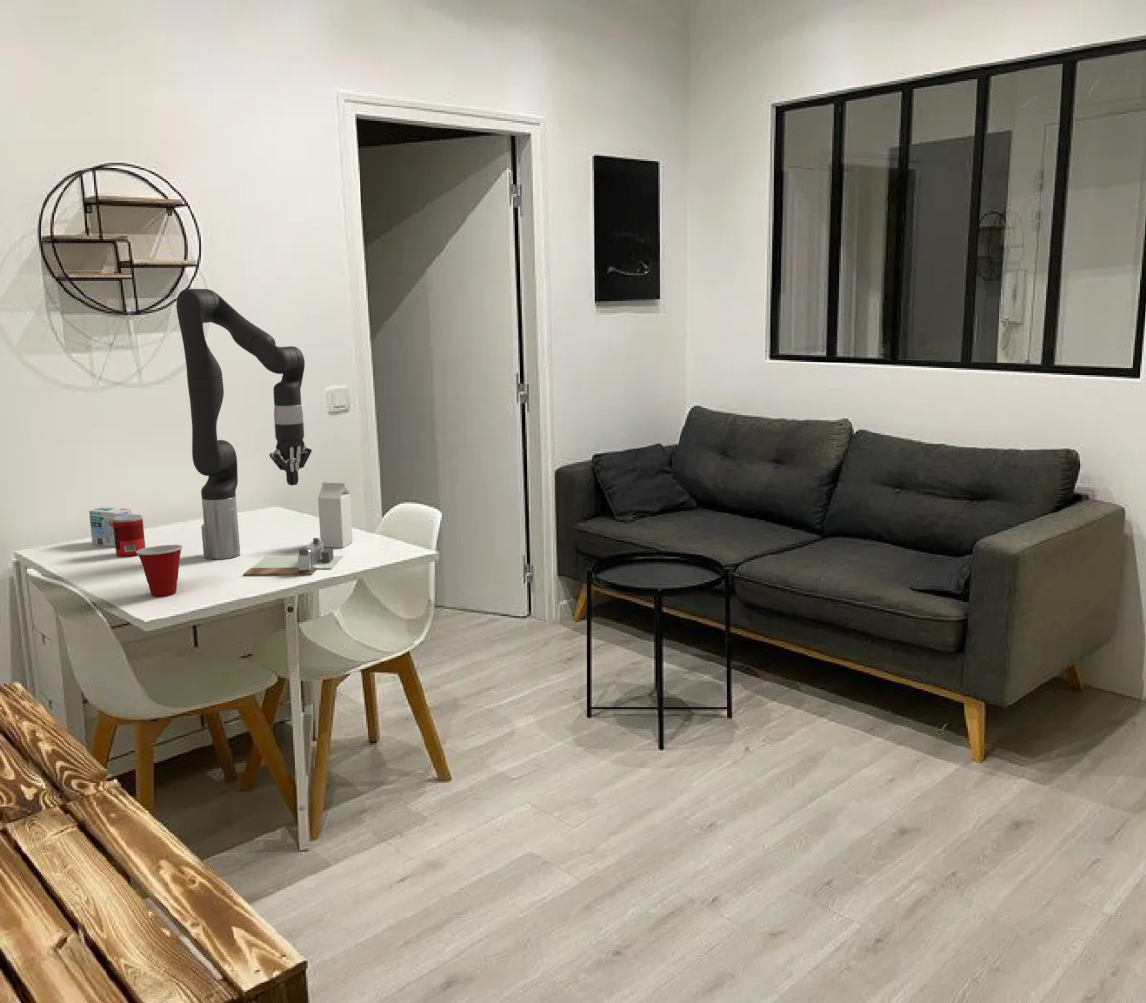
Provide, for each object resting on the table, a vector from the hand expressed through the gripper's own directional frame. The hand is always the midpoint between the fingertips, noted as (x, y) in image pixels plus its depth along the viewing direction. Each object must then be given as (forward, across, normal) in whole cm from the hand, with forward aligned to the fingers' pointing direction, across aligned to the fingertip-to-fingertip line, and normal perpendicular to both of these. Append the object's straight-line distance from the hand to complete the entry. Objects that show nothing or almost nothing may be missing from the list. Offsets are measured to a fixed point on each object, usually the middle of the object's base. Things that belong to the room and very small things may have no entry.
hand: (292, 484), depth 273 cm
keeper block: (+23, +7, -5) cm, 24 cm away
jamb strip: (+23, -8, -2) cm, 24 cm away
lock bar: (+21, +1, -4) cm, 22 cm away
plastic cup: (+23, -37, +6) cm, 44 cm away
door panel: (+23, +1, +2) cm, 23 cm away
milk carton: (+23, +22, +9) cm, 33 cm away
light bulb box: (+23, -14, +68) cm, 73 cm away
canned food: (+23, -18, +51) cm, 59 cm away
